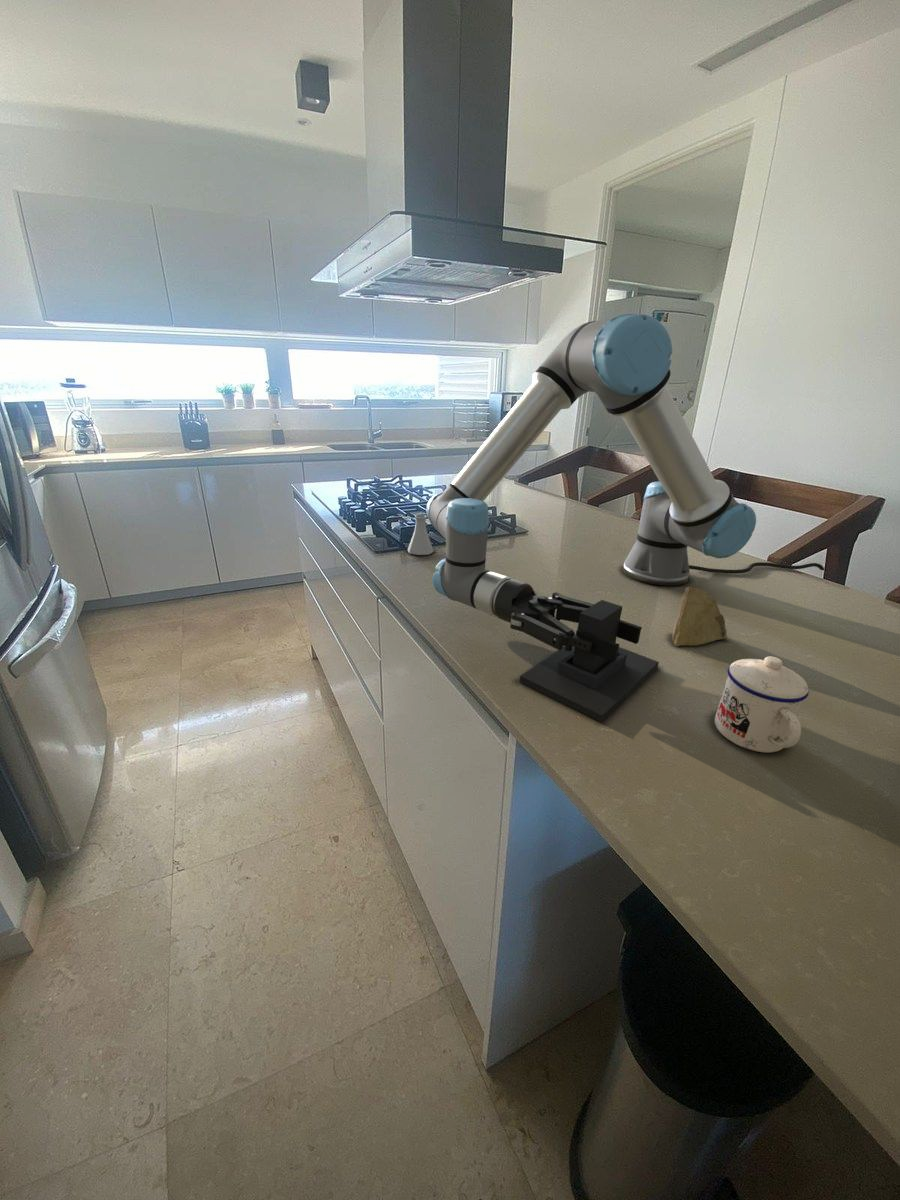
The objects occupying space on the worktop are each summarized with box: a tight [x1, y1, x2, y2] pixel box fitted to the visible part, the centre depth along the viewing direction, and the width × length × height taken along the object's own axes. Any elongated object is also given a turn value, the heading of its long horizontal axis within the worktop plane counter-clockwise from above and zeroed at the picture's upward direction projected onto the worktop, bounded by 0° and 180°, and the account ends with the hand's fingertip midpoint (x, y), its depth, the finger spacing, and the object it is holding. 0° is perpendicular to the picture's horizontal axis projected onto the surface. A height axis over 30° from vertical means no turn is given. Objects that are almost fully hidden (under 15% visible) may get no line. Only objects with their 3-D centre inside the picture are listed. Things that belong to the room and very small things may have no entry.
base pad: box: [519, 646, 660, 723], centre depth 78 cm, size 20×14×3 cm
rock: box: [671, 586, 728, 647], centre depth 89 cm, size 11×9×10 cm
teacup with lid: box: [714, 655, 810, 753], centre depth 63 cm, size 12×9×12 cm
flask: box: [407, 514, 434, 556], centre depth 131 cm, size 7×7×10 cm
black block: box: [572, 599, 623, 675], centre depth 76 cm, size 7×4×10 cm, turn 137°
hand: (628, 644), depth 73 cm, fingers closed on black block, 7 cm apart
